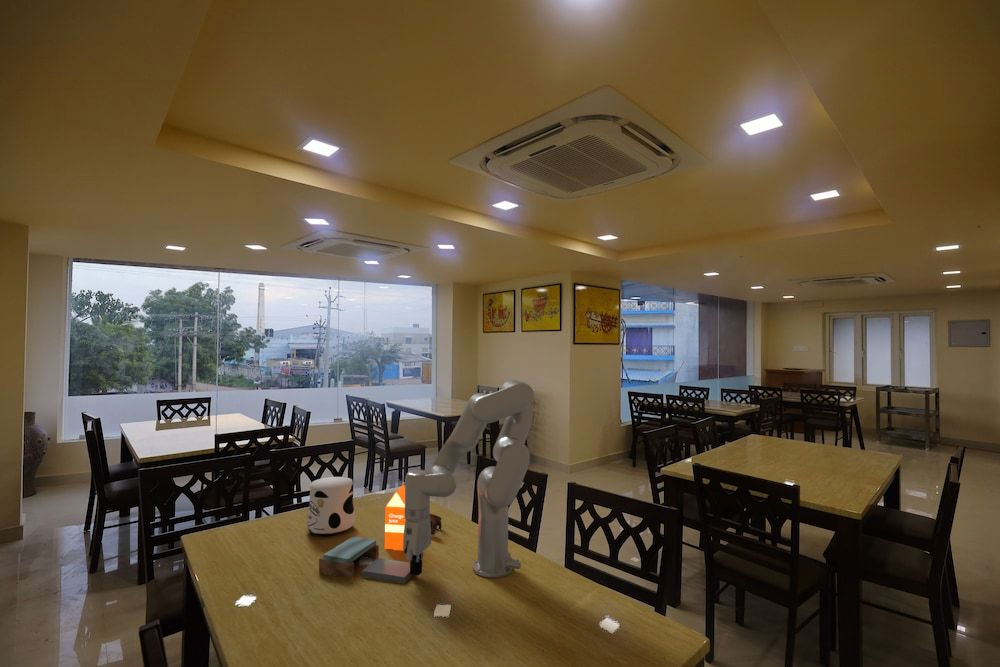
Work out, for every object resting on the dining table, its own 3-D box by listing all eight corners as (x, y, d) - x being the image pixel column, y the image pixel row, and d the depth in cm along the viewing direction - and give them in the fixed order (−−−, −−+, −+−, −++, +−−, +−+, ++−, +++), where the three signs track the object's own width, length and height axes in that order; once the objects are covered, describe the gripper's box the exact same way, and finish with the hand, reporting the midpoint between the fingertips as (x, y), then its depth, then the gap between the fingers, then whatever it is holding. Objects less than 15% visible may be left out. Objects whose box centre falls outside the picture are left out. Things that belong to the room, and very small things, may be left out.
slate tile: (417, 571, 149) (417, 563, 149) (404, 585, 140) (404, 577, 140) (377, 565, 152) (377, 558, 152) (362, 578, 144) (362, 570, 144)
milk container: (295, 535, 174) (297, 486, 174) (326, 519, 191) (327, 474, 191) (336, 541, 169) (337, 491, 169) (363, 524, 185) (364, 478, 186)
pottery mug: (409, 533, 179) (417, 510, 183) (431, 540, 183) (438, 518, 187) (423, 535, 169) (430, 511, 173) (445, 542, 173) (452, 519, 177)
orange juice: (413, 540, 171) (414, 484, 172) (406, 550, 162) (407, 491, 163) (392, 539, 172) (393, 483, 172) (384, 549, 163) (385, 490, 164)
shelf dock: (378, 557, 157) (378, 540, 157) (350, 578, 142) (351, 559, 142) (348, 552, 160) (349, 535, 160) (318, 572, 146) (319, 553, 146)
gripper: (416, 522, 136) (415, 587, 136) (438, 506, 150) (437, 564, 150) (393, 519, 138) (392, 583, 138) (417, 503, 153) (416, 561, 152)
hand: (415, 573), depth 144 cm, fingers closed
